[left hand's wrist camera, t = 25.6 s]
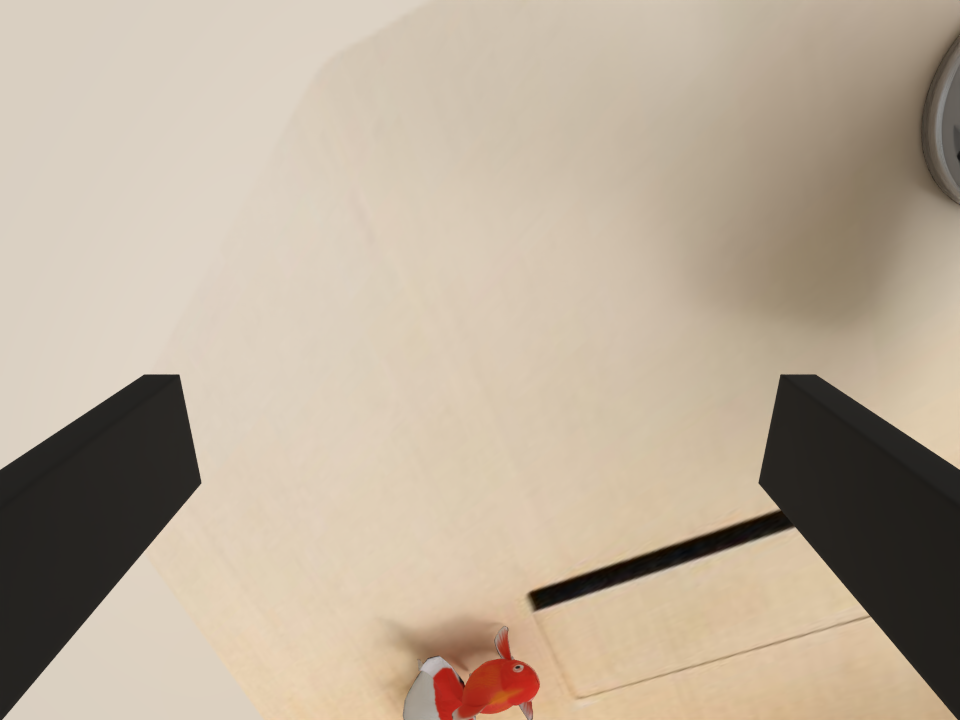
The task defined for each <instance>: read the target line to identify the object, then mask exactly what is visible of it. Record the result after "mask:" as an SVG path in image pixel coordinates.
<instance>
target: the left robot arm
mask: <svg viewBox="0 0 960 720" xmlns="http://www.w3.org/2000/svg"><path fill="white" fill-rule="evenodd" d="M922 144H923V151H924V156H925V160H926V163H927V166H928V168H929V171H930V173H931V175H932V177H933V179H934V180H935V182H936V183H937V184H938V186H939V187H940V188H941V189H942V191H943V192H944V193H945V194H946V195H948V196H949V197H950V198H951V199H952V200H954V201H955V202H957V203H959V204H960V35H959V36H958V38H957V39H956V40H955V42H954V43H953V45H952V46H951V47H950V49H949V50H948V52H947V54H946V55H945V57H944V58H943V60H942V62H941V64H940V66H939V68H938V70H937V72H936V74H935V76H934V79H933V81H932V83H931V86H930V89H929V92H928V95H927V99H926V103H925V107H924V113H923V121H922ZM200 484H201V478H200V473H199V468H198V463H197V458H196V454H195V449H194V444H193V439H192V434H191V429H190V424H189V419H188V414H187V409H186V405H185V400H184V395H183V390H182V385H181V380H180V375H143V376H141V377H140V378H138V379H137V380H135V381H134V382H132V383H131V384H129V385H128V386H126V387H125V388H123V389H122V390H120V391H119V392H117V393H116V394H114V395H113V396H111V397H110V398H108V399H107V400H105V401H104V402H102V403H101V404H99V405H98V406H96V407H95V408H93V409H91V410H90V411H88V412H87V413H86V414H84V415H82V416H81V417H79V418H78V419H76V420H75V421H73V422H72V423H70V424H69V425H67V426H66V427H64V428H63V429H61V430H60V431H58V432H57V433H55V434H54V435H52V436H51V437H49V438H48V439H46V440H45V441H43V442H42V443H40V444H39V445H37V446H36V447H34V448H33V449H31V450H30V451H28V452H27V453H25V454H24V455H22V456H21V457H19V458H18V459H16V460H15V461H13V462H11V463H10V464H8V465H7V466H5V467H4V468H2V469H1V470H0V720H2V719H3V718H4V717H5V716H6V715H7V713H8V712H9V711H10V710H11V709H12V708H13V706H14V705H15V704H16V703H17V702H18V700H19V699H20V698H21V697H22V696H23V694H24V693H25V692H26V691H27V690H28V689H29V687H30V686H31V685H32V684H33V683H34V681H35V680H36V679H37V678H38V677H39V675H40V674H41V673H42V672H43V671H44V670H45V668H46V667H47V666H48V665H49V664H50V662H51V661H52V660H53V659H54V658H55V656H56V655H57V654H58V653H59V652H60V651H61V649H62V648H63V647H64V646H65V645H66V643H67V642H68V641H69V640H70V639H71V637H72V636H73V635H74V634H75V633H76V631H77V630H78V629H79V628H80V627H81V626H82V624H83V623H84V622H85V621H86V620H87V618H88V617H89V616H90V615H91V614H92V613H93V611H94V610H95V609H96V608H97V607H98V605H99V604H100V603H101V602H102V601H103V599H104V598H105V597H106V596H107V595H108V594H109V592H110V591H111V590H112V589H113V588H114V586H115V585H116V584H117V583H118V582H119V580H120V579H121V578H122V577H123V576H124V574H125V573H126V572H127V571H128V570H129V569H130V567H131V566H132V565H133V564H134V563H135V561H136V560H137V559H138V558H139V557H140V556H141V554H142V553H143V552H144V551H145V550H146V548H147V547H148V546H149V545H150V544H151V542H152V541H153V540H154V539H155V538H156V537H157V535H158V534H159V533H160V532H161V531H162V529H163V528H164V527H165V526H166V525H167V523H168V522H169V521H170V520H171V519H172V518H173V516H174V515H175V514H176V513H177V512H178V510H179V509H180V508H181V507H182V506H183V504H184V503H185V502H186V501H187V500H188V499H189V497H190V496H191V495H192V494H193V493H194V491H195V490H196V489H197V488H198V487H199V485H200ZM759 484H760V485H761V487H762V488H763V489H764V490H765V491H766V493H767V494H768V495H769V496H770V497H771V499H772V500H773V501H774V502H775V503H776V504H777V506H778V507H779V508H780V509H781V510H782V512H783V513H784V514H785V515H786V516H787V518H788V519H789V520H790V521H791V522H792V523H793V525H794V526H795V527H796V528H797V529H798V531H799V532H800V533H801V534H802V535H803V537H804V538H805V539H806V540H807V541H808V542H809V544H810V545H811V546H812V547H813V548H814V550H815V551H816V552H817V553H818V554H819V556H820V557H821V558H822V559H823V560H824V561H825V563H826V564H827V565H828V566H829V567H830V569H831V570H832V571H833V572H834V573H835V575H836V576H837V577H838V578H839V579H840V580H841V582H842V583H843V584H844V585H845V586H846V588H847V589H848V590H849V591H850V592H851V594H852V595H853V596H854V597H855V598H856V599H857V601H858V602H859V603H860V604H861V605H862V607H863V608H864V609H865V610H866V611H867V613H868V614H869V615H870V616H871V617H872V618H873V620H874V621H875V622H876V623H877V624H878V626H879V627H880V628H881V629H882V630H883V632H884V633H885V634H886V635H887V636H888V637H889V639H890V640H891V641H892V642H893V643H894V645H895V646H896V647H897V648H898V649H899V651H900V652H901V653H902V654H903V655H904V656H905V658H906V659H907V660H908V661H909V662H910V664H911V665H912V666H913V667H914V668H915V670H916V671H917V672H918V673H919V674H920V675H921V677H922V678H923V679H924V680H925V681H926V683H927V684H928V685H929V686H930V687H931V689H932V690H933V691H934V692H935V693H936V694H937V696H938V697H939V698H940V699H941V700H942V702H943V703H944V704H945V705H946V706H947V708H948V709H949V710H950V711H951V712H952V713H953V715H954V716H955V717H956V718H957V719H958V720H960V470H959V469H958V468H956V467H955V466H953V465H952V464H950V463H949V462H947V461H946V460H944V459H943V458H941V457H940V456H938V455H936V454H935V453H933V452H932V451H930V450H929V449H927V448H926V447H924V446H923V445H921V444H920V443H918V442H917V441H915V440H914V439H912V438H911V437H909V436H908V435H906V434H905V433H903V432H902V431H900V430H899V429H897V428H896V427H894V426H893V425H891V424H890V423H888V422H887V421H885V420H884V419H882V418H881V417H879V416H878V415H876V414H875V413H873V412H872V411H870V410H868V409H867V408H865V407H864V406H862V405H861V404H859V403H858V402H856V401H855V400H853V399H852V398H850V397H849V396H847V395H846V394H844V393H843V392H841V391H840V390H838V389H837V388H835V387H834V386H832V385H831V384H829V383H828V382H826V381H825V380H823V379H822V378H820V377H819V376H817V375H780V380H779V385H778V390H777V395H776V400H775V405H774V409H773V414H772V419H771V424H770V429H769V434H768V439H767V444H766V449H765V454H764V458H763V463H762V468H761V473H760V478H759Z"/></svg>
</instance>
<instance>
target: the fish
mask: <svg viewBox="0 0 960 720" xmlns="http://www.w3.org/2000/svg"><path fill="white" fill-rule="evenodd" d="M495 646H496V648H497V651H498V653H499V655H500V657H501V658H502V659H496V660H491V661H487V662H485V663H484V664H482V665H481V666H480V667H478V668H477V669H476V670H475V671H474V672H473V673H472V674H471V673H470V674H469V676H470V677H469V679H468V681H467V683H466V685H464V682H463V681H462V679H461V678H460V677H459V675H458V674H457V673H456V671H455V670H454V669H453V667H452V666H451V665H450V664H449V663H447V662H446V661H445V660H444V659H443V658H441V657H440V656H435V657H431V658H428V659H427V660H426V662H425V663H424V664H423V663H422V661H421V660H419V659H418V667H419V671H421V672H420V674H419V675H418V676H417V678H416V680H415V682H414V683H413V685H412V687H411V689H410V690H409V692H408V694H407V696H406V699H405V703H404V710H403V719H404V720H476V717H475V716H476V715H477V714H479V713H482V714H494V713H499V712H501V711H504V710H507V709H508V708H510V707H511V706H513V705H519V707H520V708H521V710H522V711H523V713H524V715H525V716H526V718H527V719H528V720H532V719H533V710H532V702H531V701H532V700H533V699H534V697H535V695H536V694H537V692H538V690H539V687H540V682H539V678H538V675H537V674H536V672H535V670H534V669H533V668H532V667H530V666H529V665H528V664H526V663H524V662H521V661H517V660H514V657H513V656H511V654H510V649H509V642H508V628H507V627H505V626H503V627H502V628H501V629H500V631H499V632H498V634H497V636H496V637H495Z"/></svg>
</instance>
